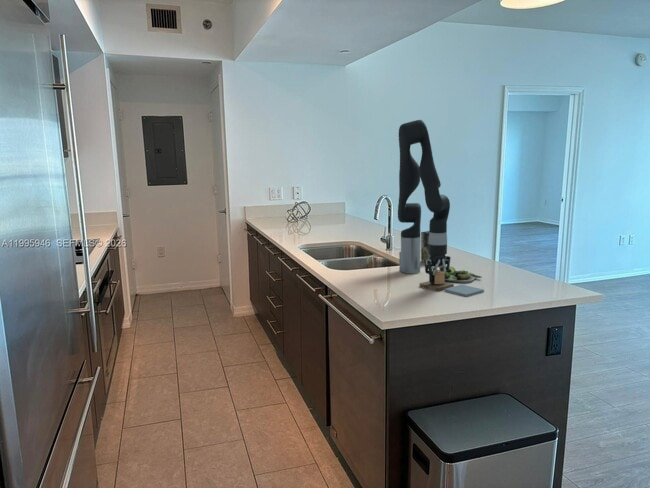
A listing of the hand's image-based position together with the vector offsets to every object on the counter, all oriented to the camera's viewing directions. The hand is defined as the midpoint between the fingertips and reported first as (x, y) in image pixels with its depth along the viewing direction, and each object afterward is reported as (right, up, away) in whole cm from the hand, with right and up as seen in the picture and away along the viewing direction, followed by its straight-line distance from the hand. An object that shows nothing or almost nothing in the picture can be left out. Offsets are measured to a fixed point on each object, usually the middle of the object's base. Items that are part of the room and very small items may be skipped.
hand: (437, 281), depth 201 cm
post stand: (0, -2, 0) cm, 2 cm away
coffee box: (+8, +6, +48) cm, 49 cm away
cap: (0, 0, 0) cm, 0 cm away
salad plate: (+12, 0, +15) cm, 19 cm away
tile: (+9, -3, -8) cm, 12 cm away
